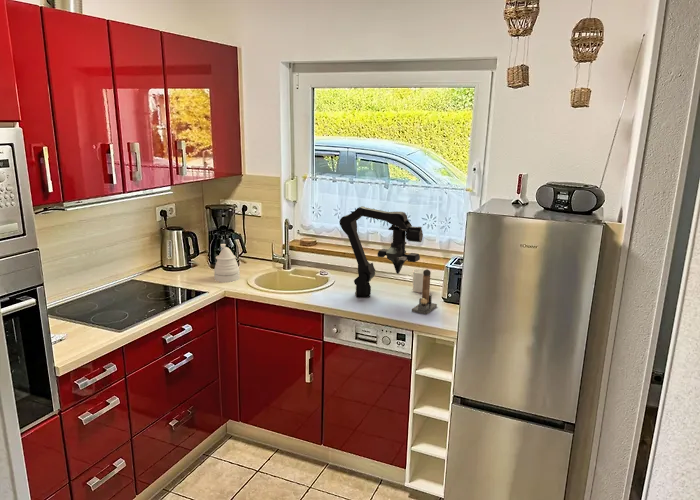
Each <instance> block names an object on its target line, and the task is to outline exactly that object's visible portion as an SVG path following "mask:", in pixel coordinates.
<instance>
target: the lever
mask: <svg viewBox="0 0 700 500" xmlns="http://www.w3.org/2000/svg"><path fill="white" fill-rule="evenodd" d="M423 274H424V275H423V289H422V293H421V298H425V299H427V303H428V302H429V295H430V291H431V289H430V287H431V275H432V273H431V270H430V269H428V268H427V269H425V270H424V272H423Z"/></svg>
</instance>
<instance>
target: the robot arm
mask: <svg viewBox="0 0 700 500" xmlns="http://www.w3.org/2000/svg"><path fill="white" fill-rule="evenodd" d="M362 217H365V218H370V219H374V220H380V221H384V222H387V223H389V224H390V225H391V226H390V227H388V231H392V242H391V243H390V247H388V248H382V249H380V250H378V251H377V258H385V257H386V259H387V260H389V261H391V263H392V264H393V268H394V270H395V273H396V274H398V275H399V274H400V272H401V271H402V268H403V265H404V264H405V262H406V261H407V262H410V263H416V262H418V261H420V258H421V255H420V254H419V253H415V252H411V253H407V250H406V245H407V241H408V242H414V243H415V242H416V243H422V241H423V238H424V233H423V227H422V226H412V223H411V222H410V221H409V219H408V215H407V213H406V212H404V211H386V210H385V211H384V210H380V209H376V208H371V207H370V208H369V207H367V206H359V207H357V208H356V209H355V210H353V211H352V212H351V213H349V214H347V215H344V216H341V218H340V219H339V225H340V228H341V230H342V231H343V232H344V234H345V235H347V238H348V241H349V243H350V246H351V249H352V253H353V254H354V257H355V260H356V262H357V273H358V274H357V275H358V276H357V277H356V278H355V279H354V280H353V283H354V285H355V292H354V294H355V298H370V297H371V295H372V294H371V293H372V292H371V291H372V290H371V289H372V285H371V283H370V282H371V280H372V279H373V278H374V277H375V275H376V268H375V267H374V266H375V265H374V263H373V262H369V261H368V258H367V256H366V253H365V250H364V248H363V245H362V242H361V240H360V239H361V238H360V237H359V235H358V234H359V233H358V223H357V221H358V220H359V219H361V218H362ZM406 240H407V241H406Z"/></svg>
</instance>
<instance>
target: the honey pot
mask: <svg viewBox="0 0 700 500" xmlns="http://www.w3.org/2000/svg"><path fill="white" fill-rule="evenodd" d="M226 245H227V244H226V243H220V247H221V250H220V253H219V255H216V256H215V259H216V262H215V266H214V269H213V272H214V273H213V278H214V279H215V280H216V281H215V280H214V281H215V282H217V281H219V282H218V283H232V282H233V281H234V282H237V281H239V280H240V279H241V275H240V274H241V273H240V272H241V271H240V267H239V265H238V261H237V259H236V257H237V256H236V255H234V253H233V252H232V250H231V249H230V248H229V247H227V246H226ZM234 282H233V283H234Z"/></svg>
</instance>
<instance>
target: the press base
mask: <svg viewBox="0 0 700 500" xmlns="http://www.w3.org/2000/svg"><path fill="white" fill-rule="evenodd" d="M432 295H433V294H429V302H428V303H427V299H425V298H422V297H420V298H419V299H418V300H419V301H418V304H417V305H415V306H414V307H412V309H411V312H412V313H417V314H422V315H428V314H430V313H431V312H432V311H433V310H435V309H436V308H437V307H438V304H437V303H435V302H434V303H433V302H432V301H433V300H432V299H433V298H432V297H433V296H432Z"/></svg>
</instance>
